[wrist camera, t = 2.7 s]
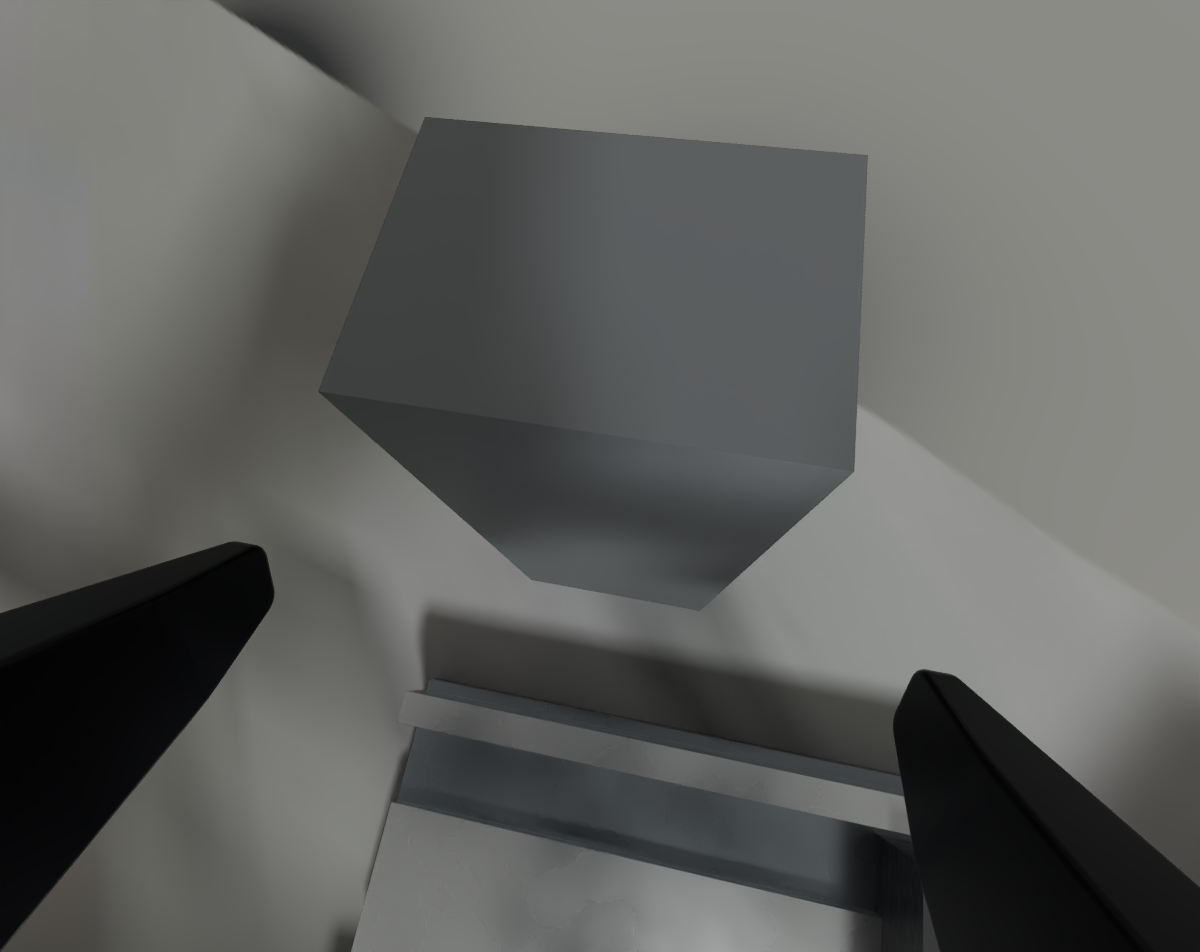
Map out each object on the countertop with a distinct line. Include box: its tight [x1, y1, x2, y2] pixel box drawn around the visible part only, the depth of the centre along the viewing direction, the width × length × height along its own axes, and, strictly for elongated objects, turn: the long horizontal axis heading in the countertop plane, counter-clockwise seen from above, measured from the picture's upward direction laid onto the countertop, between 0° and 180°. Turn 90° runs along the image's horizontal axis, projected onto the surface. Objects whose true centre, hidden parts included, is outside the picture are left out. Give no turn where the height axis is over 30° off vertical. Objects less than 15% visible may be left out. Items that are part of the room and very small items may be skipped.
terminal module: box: [318, 117, 868, 610], centre depth 12 cm, size 5×6×13 cm
